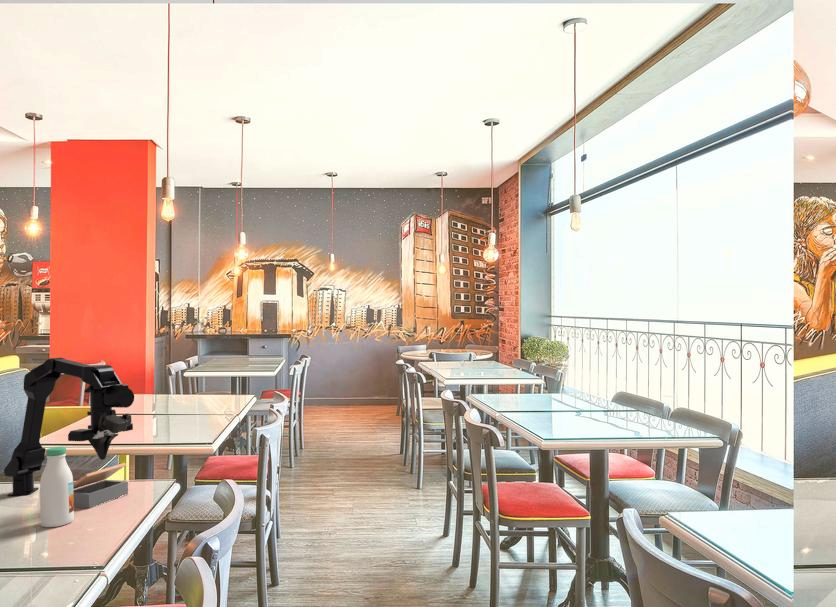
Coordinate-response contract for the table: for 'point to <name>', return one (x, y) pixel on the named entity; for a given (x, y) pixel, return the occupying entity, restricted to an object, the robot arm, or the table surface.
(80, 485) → the duct cover
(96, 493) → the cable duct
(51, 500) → the milk bottle
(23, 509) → the table surface
